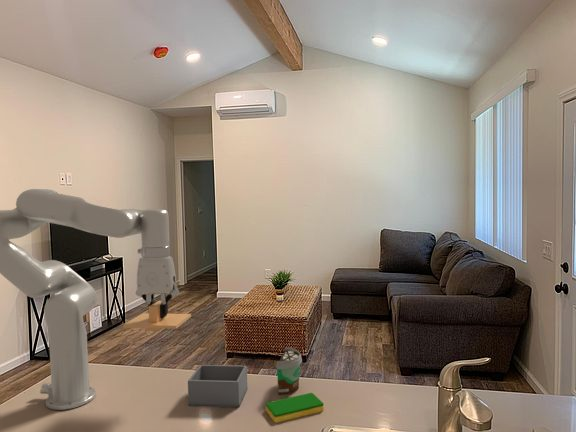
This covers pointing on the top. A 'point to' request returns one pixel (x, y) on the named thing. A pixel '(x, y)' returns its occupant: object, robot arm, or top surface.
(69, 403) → the robot arm
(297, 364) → the food container
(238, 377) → the tub
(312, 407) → the dish sponge
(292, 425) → the top surface
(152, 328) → the lid
